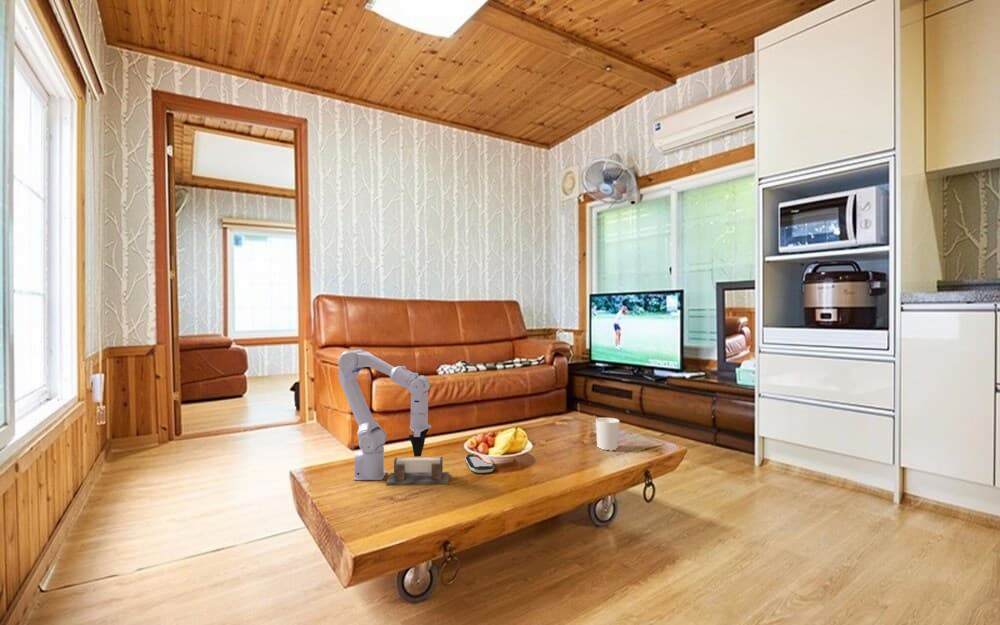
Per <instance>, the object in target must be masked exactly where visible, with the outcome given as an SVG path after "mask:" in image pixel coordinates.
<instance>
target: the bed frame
mask: <svg viewBox="0 0 1000 625" xmlns="http://www.w3.org/2000/svg"><path fill="white" fill-rule="evenodd" d="M404 466H405V464H395V473H394V472H390V474H389V475H388V478H387V480H386V483H385V484H386V486H411V485H413V486H414V485H415V486H416V485H420V486H421V485H448V484H449V477H450V471H442V472H441V464H432V472H406V473H404Z"/></svg>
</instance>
